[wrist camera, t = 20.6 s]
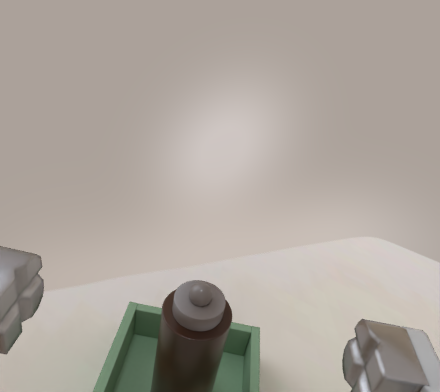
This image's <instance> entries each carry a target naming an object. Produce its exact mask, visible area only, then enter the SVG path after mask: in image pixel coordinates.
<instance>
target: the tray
mask: <svg viewBox="0 0 440 392" xmlns="http://www.w3.org/2000/svg"><path fill="white" fill-rule="evenodd" d="M161 312H162V308H158V307H153V306H148V305H143V304H138V303H134V302H129V305H128V307H127V310H126V312H125V315H124V317H123V320H122V322H121V324H120V327H119V329H118V332H117V334H116V337H115V339H114V342H113V344H112V346H111V349H110V351H109V354H108V356H107V359H106V361H105V364H104V366H103V368H102V371H101V373H100V376H99V378H98V381H97V383H96V386H95V388H94V390H93V392H151V385H152V378H153V370H154V363H155V356H156V348H157V341H158V334H159V326H160V319H161ZM259 365H260V328H259V327H254V326H252V327H251V326H248V325H243V324H238V323H233V322H231V326H230V329H229V333H228V337H227V340H226V344H225V347H224V351H223V355H222V358H221V362H220V366H219V369H218V373H217V376H216V380H215V384H214V387H213V391H212V392H259Z"/></svg>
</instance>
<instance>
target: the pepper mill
mask: <svg viewBox="0 0 440 392" xmlns="http://www.w3.org/2000/svg"><path fill="white" fill-rule="evenodd" d="M231 322H232V311H231V308H230V306H229V304H228V302H227V301H226V300H225V297H224V295H223V293H222V291H221V290H220V289H219V288H218V287H216V286H215V285H213V284H211V283H209V282H205V281H200V280H194V281H188V282H186V283H184V284H182V285H180V286H179V287H178V288H177V289H176V290H174V291H173V292H171V293H170V294H169V295H168V296H167V298H166V299H165V301H164V303H163V306H162V312H161V319H160V326H159V334H158V341H157V348H156V356H155V363H154V370H153V378H152V385H151V392H212V391H213V387H214V384H215V380H216V376H217V373H218V369H219V366H220V362H221V358H222V355H223V351H224V347H225V344H226V340H227V337H228V333H229V329H230V326H231Z"/></svg>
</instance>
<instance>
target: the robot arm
mask: <svg viewBox="0 0 440 392" xmlns="http://www.w3.org/2000/svg"><path fill="white" fill-rule="evenodd" d="M41 268H42V261H41V257H40V256H39V255H37V254H33V253H28V252H24V251H20V250H15V249H11V248H6V247H2V246H0V353H1V354H7V353H8V351H9V350H10V349H11V347H12V346H13V344H14V343H15V341H16V340H17V338H18V337H19V335H20V334H21V333H22V325H21V323H22V322H23V321H25V320H27V319H29V318H31V317H32V316H33V315H34V313H35V312H36V310H37V309H38V307H39V304H40V302H41V299H42V297H43V290H44V282H43V279H42V278H41V277H40V275H39V274H38V272H39V270H40V269H41ZM355 333H356V337H355V338H353V339H351V340H349V341H348V343H347V345H346V347H345V349H344V354H343V360H342V362H343V373H344V379H345V380H346V381H347V383H348V384H349V385H350V386H351V387H352V390H351V392H440V361H439V359H438V357H437V355H436V352H435V350H434V348H433V346H432V344H431V342H430V340H429V338H428V335H427V334H426V333H425V332H424V331H423V330H418V329H413V328H408V327H400V326H396V325H391V324H386V323H381V322H375V321H370V320H365V319H362V320H360V321H359V322H358V324H357V325H356V327H355Z"/></svg>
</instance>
